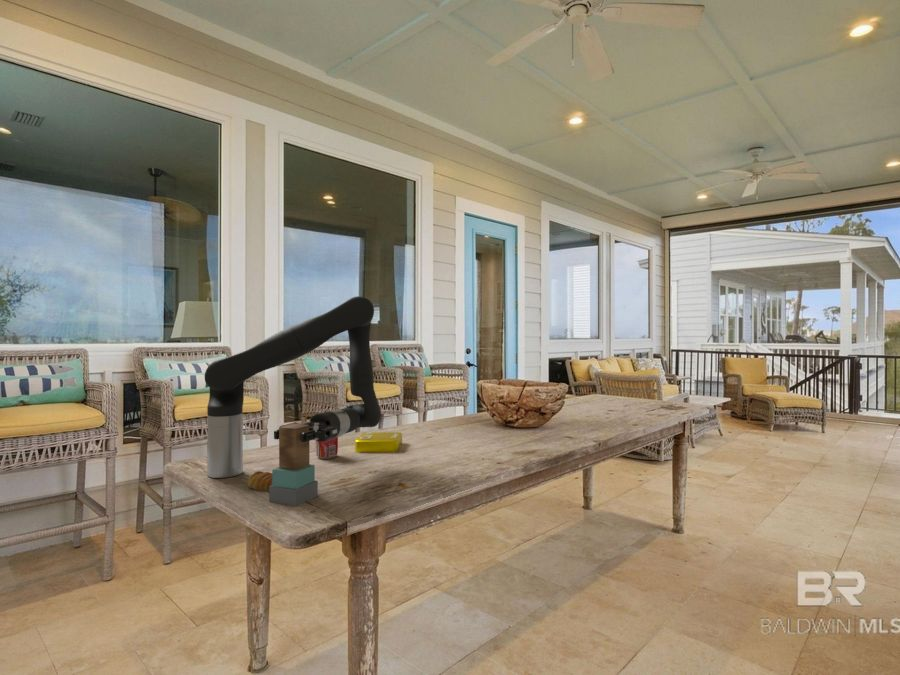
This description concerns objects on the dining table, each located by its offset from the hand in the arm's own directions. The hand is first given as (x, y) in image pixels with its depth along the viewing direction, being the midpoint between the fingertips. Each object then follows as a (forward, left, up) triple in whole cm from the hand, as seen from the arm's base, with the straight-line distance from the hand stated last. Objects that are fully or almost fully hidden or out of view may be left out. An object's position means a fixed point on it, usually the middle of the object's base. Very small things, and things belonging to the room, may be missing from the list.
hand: (288, 436), depth 118 cm
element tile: (-22, +53, -16) cm, 60 cm away
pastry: (-15, +3, -16) cm, 22 cm away
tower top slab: (0, +2, -12) cm, 12 cm away
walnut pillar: (0, +2, -8) cm, 8 cm away
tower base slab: (0, +2, -16) cm, 16 cm away
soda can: (-26, +33, -16) cm, 45 cm away
